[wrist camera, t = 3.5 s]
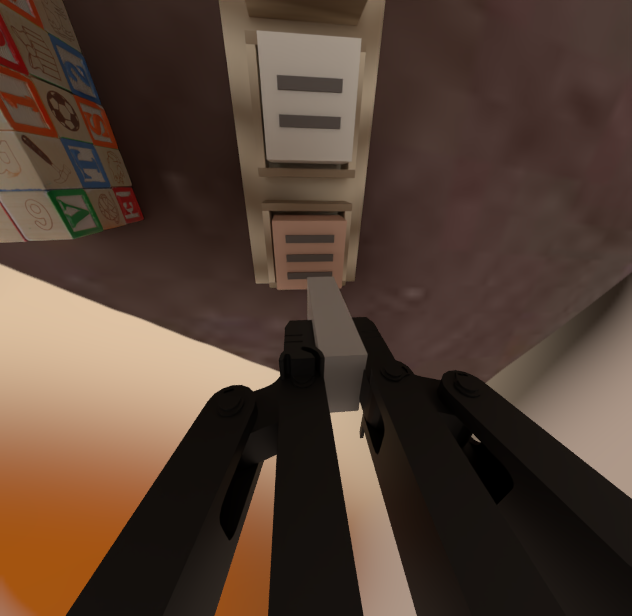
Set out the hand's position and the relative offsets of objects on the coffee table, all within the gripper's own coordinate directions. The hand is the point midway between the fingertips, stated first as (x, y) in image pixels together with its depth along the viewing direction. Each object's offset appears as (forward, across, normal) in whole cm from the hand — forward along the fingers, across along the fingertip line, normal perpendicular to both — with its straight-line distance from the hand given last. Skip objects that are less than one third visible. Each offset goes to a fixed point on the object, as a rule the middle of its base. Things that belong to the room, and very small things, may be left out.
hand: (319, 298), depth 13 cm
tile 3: (+11, 0, 0) cm, 11 cm away
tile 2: (+11, 0, +10) cm, 15 cm away
